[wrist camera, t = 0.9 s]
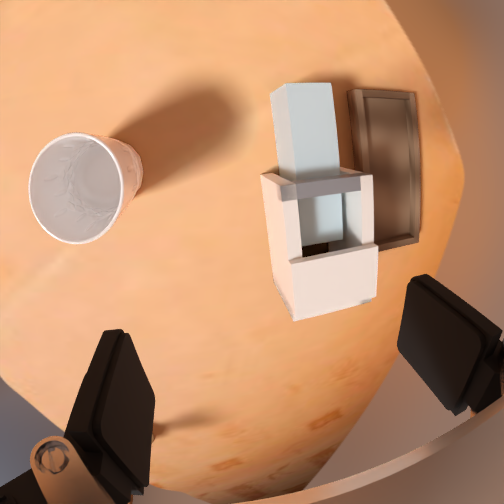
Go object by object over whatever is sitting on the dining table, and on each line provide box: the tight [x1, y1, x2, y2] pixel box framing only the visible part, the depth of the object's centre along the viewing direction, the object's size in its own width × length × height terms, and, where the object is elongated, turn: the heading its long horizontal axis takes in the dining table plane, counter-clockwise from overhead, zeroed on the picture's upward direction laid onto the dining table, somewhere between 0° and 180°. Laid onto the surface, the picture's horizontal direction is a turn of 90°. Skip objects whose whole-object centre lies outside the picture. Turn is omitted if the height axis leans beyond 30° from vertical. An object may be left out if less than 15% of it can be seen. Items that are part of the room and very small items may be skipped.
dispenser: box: [260, 167, 378, 321], centre depth 28 cm, size 12×8×9 cm, turn 8°
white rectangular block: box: [270, 83, 343, 246], centre depth 27 cm, size 14×4×6 cm, turn 7°
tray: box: [347, 89, 421, 252], centre depth 30 cm, size 18×8×2 cm, turn 8°
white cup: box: [29, 133, 144, 244], centre depth 22 cm, size 8×8×10 cm
